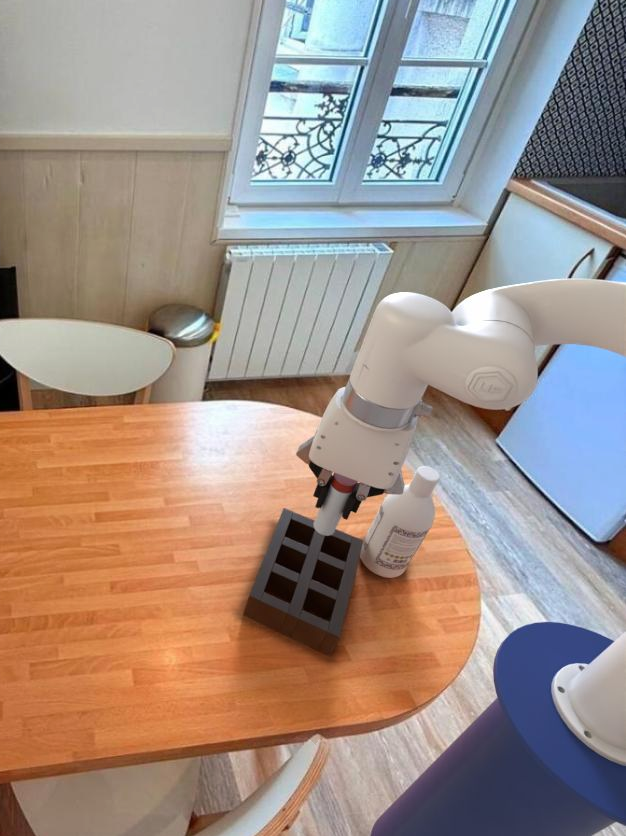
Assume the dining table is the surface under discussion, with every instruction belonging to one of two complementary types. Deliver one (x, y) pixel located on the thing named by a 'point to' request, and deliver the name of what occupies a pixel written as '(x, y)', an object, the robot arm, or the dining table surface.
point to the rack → (305, 582)
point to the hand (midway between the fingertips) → (333, 505)
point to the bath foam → (401, 526)
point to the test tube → (334, 504)
